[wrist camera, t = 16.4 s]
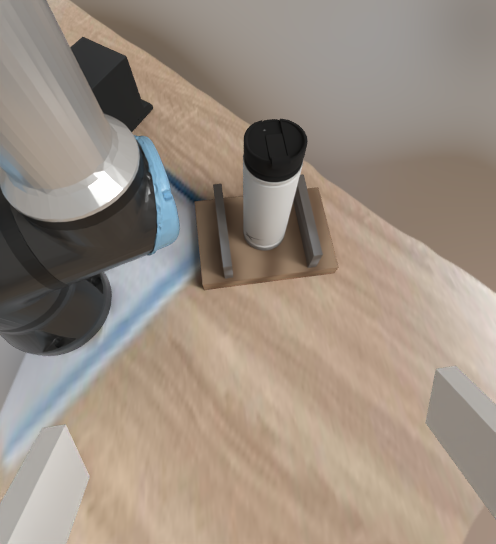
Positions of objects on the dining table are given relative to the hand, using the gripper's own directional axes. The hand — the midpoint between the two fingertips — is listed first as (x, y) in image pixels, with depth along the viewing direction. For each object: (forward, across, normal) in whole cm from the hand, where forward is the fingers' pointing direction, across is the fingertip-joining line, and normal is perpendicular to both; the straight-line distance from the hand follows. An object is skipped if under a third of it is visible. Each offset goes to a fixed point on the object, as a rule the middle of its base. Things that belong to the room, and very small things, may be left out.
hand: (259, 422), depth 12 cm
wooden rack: (+40, +6, -7) cm, 41 cm away
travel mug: (+39, +6, -6) cm, 39 cm away
